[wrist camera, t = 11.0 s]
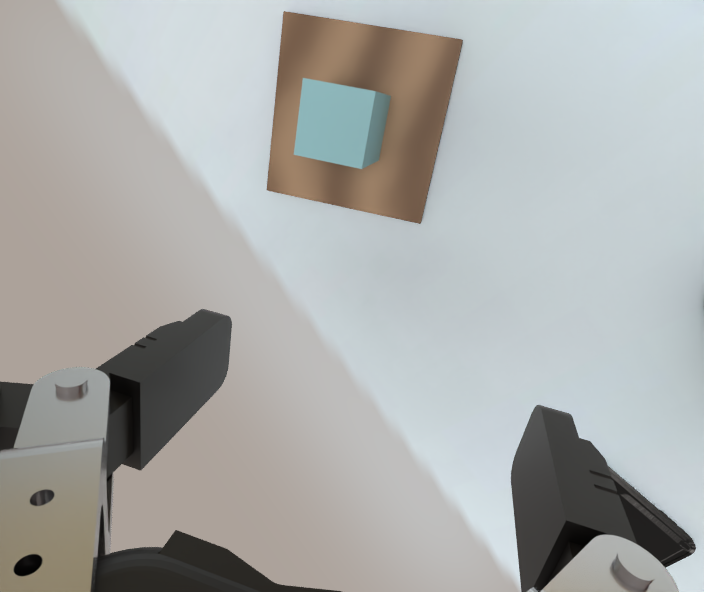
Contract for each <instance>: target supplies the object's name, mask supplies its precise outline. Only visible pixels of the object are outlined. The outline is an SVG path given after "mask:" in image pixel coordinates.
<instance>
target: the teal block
mask: <svg viewBox="0 0 704 592" xmlns="http://www.w3.org/2000/svg"><path fill="white" fill-rule="evenodd" d="M390 99H391V96H390V95H386V94H383V93H380V92H376V91H371V90H366V89H360V88H355V87H350V86H344V85H339V84H334V83H328V82H323V81H317V80H312V79H307V78H303V81H302V90H301V98H300V107H299V115H298V123H297V132H296V140H295V148H294V155H298V156H302V157H307V158H312V159H317V160H321V161H326V162H331V163H335V164H340V165H345V166H350V167H354V168H359V169H363V168H365V167H367V166H369V165H371V164H373V163H375V162H377V161H379V157H380V152H381V146H382V141H383V136H384V131H385V125H386V120H387V115H388V109H389V104H390Z"/></svg>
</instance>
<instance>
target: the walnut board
mask: <svg viewBox="0 0 704 592" xmlns="http://www.w3.org/2000/svg"><path fill="white" fill-rule="evenodd" d="M462 42H463V40H461V39H455V38H448V37H442V36H436V35H429V34H423V33H417V32H411V31H404V30H398V29H392V28H385V27H379V26H373V25H367V24H360V23H354V22H348V21H341V20H335V19H329V18H323V17H316V16H310V15H304V14H297V13H291V12H285V11H284V13H283V24H282V34H281V45H280V55H279V66H278V76H277V87H276V97H275V108H274V118H273V129H272V139H271V150H270V161H269V171H268V182H267V190H268V191H273V192H277V193H282V194H286V195H291V196H295V197H300V198H305V199H309V200H314V201H318V202H323V203H328V204H332V205H337V206H341V207H346V208H350V209H355V210H360V211H364V212H369V213H373V214H378V215H382V216H387V217H392V218H396V219H401V220H405V221H410V222H415V223H419V224H420V223H421V220H422V216H423V212H424V207H425V203H426V199H427V194H428V190H429V186H430V181H431V177H432V173H433V168H434V164H435V159H436V155H437V151H438V146H439V142H440V138H441V133H442V129H443V125H444V120H445V116H446V112H447V107H448V103H449V99H450V94H451V90H452V86H453V81H454V77H455V73H456V68H457V64H458V60H459V55H460V51H461V47H462ZM303 78H307V79H312V80H317V81H323V82H328V83H334V84H339V85H344V86H350V87H355V88H360V89H366V90H371V91H376V92H380V93H383V94H386V95H390V96H391V99H390V104H389V109H388V115H387V120H386V125H385V131H384V136H383V141H382V146H381V152H380V157H379V161H377V162H375V163H373V164H371V165H369V166H367V167H365V168H363V169H359V168H354V167H350V166H345V165H340V164H335V163H331V162H326V161H321V160H317V159H312V158H307V157H302V156H298V155H294V148H295V140H296V132H297V123H298V115H299V107H300V98H301V90H302V81H303Z"/></svg>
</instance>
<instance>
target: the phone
mask: <svg viewBox="0 0 704 592" xmlns="http://www.w3.org/2000/svg"><path fill="white" fill-rule="evenodd" d="M608 468H609V471H610V473H611V476H612V477H611V480H613V481H614V484H615V486H616V489H617V495H619V497H620V500H621V502H622V505H623V508H624V510H625V513H626V516H627V518H628V521H629V523H630V526H631V529H632V531H633V534H634V537H635V539H636V542H637V545H639V546H641V547H642V548H643V549H645V550H646V551H648V552H649V553H650V554H652V555H653V556H654V557H655V558H656V559H657V560H658V561H659V562H660V563H661V564H662V565H663V566H664V567H665V568H666V567H668V566H670V565H672V564H674V563H676V562H678V561H680V560H682V559H684V558H686V557H688V556H690V555H691V554H693V553H694V552H695V549H696V547H695V544H694V542H693V540H692V538H691V537H690V536H689V535H688V534H687V533H685V531H684V530H682V529H681V528H680V527H678V526H677V524H676V523H674V522H673V521H672V520H671V519H669V518H668V516H667V515H665V514H664V513H663V512H662V511H660V510H659V509H657V508H656V507H655V506H654V505H653V504H652V503H650V502H649V501H648V500H647V499H646V498H645V497H643V496H642V495H641V494H640V493H639V492H638V491H636V490H635V489H634V488H633V487H632V486H631V485H629V484H628V483H627V482H626V481H625V480H624V479H622V478H621V477H620V476H619V475H618V474H617V473H615V472H614V471H613V470H612V469H611V468H610V467H609V466H608Z"/></svg>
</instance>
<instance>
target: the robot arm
mask: <svg viewBox="0 0 704 592" xmlns="http://www.w3.org/2000/svg"><path fill="white" fill-rule="evenodd" d="M231 328H232V322H231V318H230V317H229V316H226V315H223V314H219V313H216V312H212V311H208V310H205V309H201V310H199V311H198V312H196V313H195V314H194V315H192V316H191V317H189V318H188V319H186V320H185V321H183V322H181V321H177V322H174V323H170V324H167V325H164V326H161V327H159V328H157V329H156V330H154V331H153V332H151V333H150V334H148V335H147V336H146V338H142V339H140V340H139V341H138V342H136V343H135V345H134V346H133V345H131V346H130V347H128V348H127V349H125V350H124V351H122V352H121V353H119V354H118V355H116V356H115V357H113V358H111V359H110V360H108V361H107V362H105V363H104V364H102V365H101V366H99V367H98V368H96V369H92V368H85V367H75V368H67V369H62V370H58V371H55V372H52V373H50V374H47V375H45V376H44V377H42V378H40V379H39V380H38V381H37V382H36V383H35V384H22V383H9V382H0V592H341V591H333V590H323V589H313V588H304V587H295V586H285V585H279V584H276V583H274V582H272V581H271V580H269V579H268V578H267V577H265V576H264V575H262V574H261V573H259V572H258V571H256V570H255V569H254V568H252V567H251V566H250V565H248V564H247V563H246V562H244V561H243V560H242V559H240V558H238V557H237V556H236V555H235V554H233V553H232V552H230V551H229V550H228V549H225V548H223V547H220V546H217V545H215V544H211V543H209V542H207V541H204V540H201V539H198V538H196V537H193V536H191V535H188V534H185V533H182V532H180V531H177V530H176V531H175V532H174V533H173V535H172V536H171V537H170V539H169V540H168V542H167V543H166V544H165V546H164V547H163V548H161V547H142V548H134V549H127V550H122V551H118V552H114V553H110V545H111V524H112V502H113V472H114V471H115V470H116V469H117V468H118V467H119V466H120V465H121V464H124V465H127V466H129V467H132V468H135V469H138V470H142V469H143V468H144V467H145V465H146V464H148V462H149V461H150V460H151V459H152V458H153V457H154V456H155V455H156V454H157V453H158V452H159V451H160V450H161V449H162V448H163V447H164V446H165V445H166V444H167V443H168V442H169V440H170V439H171V438H172V437H173V436H174V435H175V434H176V433H177V432H178V431H179V430H180V429H181V428H182V427H183V426H184V425H185V424H186V423H187V422H188V421H189V420H190V419H191V417H192V416H193V415H194V414H195V413H196V412H197V411H198V410H199V409H200V408H201V407H202V406H203V405H204V404H205V403H206V402H207V401H208V400H209V399H210V397H212V396H213V394H214V393H215V392H216V391H217V390H218V389H219V388H220V387H221V385H222V384H223V382H224V379H225V377H226V374H227V371H228V364H229V352H230V340H231ZM611 477H612V476H611V473H610V471H609V468H608V465H607V463H606V460H605V458H604V457H603V456H602V455H601V454H600V452H599V451H598V450H597V449H596V448H595V447H594V445H593V444H592V443H591V442H590V441H587V440H584V439H580V438H579V436H578V433H577V430H576V427H575V424H574V421H573V418H572V416H571V414H569V413H565V412H562V411H558V410H555V409H551V408H548V407H544V406H541V405H537V406H536V407H535V408H534V410H533V412H532V414H531V417H530V419H529V422H528V424H527V427H526V429H525V432H524V434H523V437H522V439H521V442H520V444H519V447H518V449H517V452H516V454H515V457H514V461H513V465H512V471H511V486H512V496H513V507H514V517H515V528H516V538H517V549H518V559H519V570H520V580H521V591H522V592H679V591H678V588H677V585H676V583H675V581H674V579H673V578H672V576H671V575H670V573H669V572H668V571H667V569H666V568H665V567H664V566H663V565H662V564H661V563H660V562H659V561H658V560H657V559H656V558H655V557H654V556H653V555H652V554H650V553H649V552H648V551H646V550H645V549H643V548H642V547H641V546H639V545H637V542H636V539H635V537H634V534H633V531H632V529H631V526H630V523H629V521H628V518H627V516H626V513H625V510H624V508H623V505H622V502H621V500H620V497H619V495H617V489H616V486H615V484H614V481H613V480H611Z"/></svg>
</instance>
